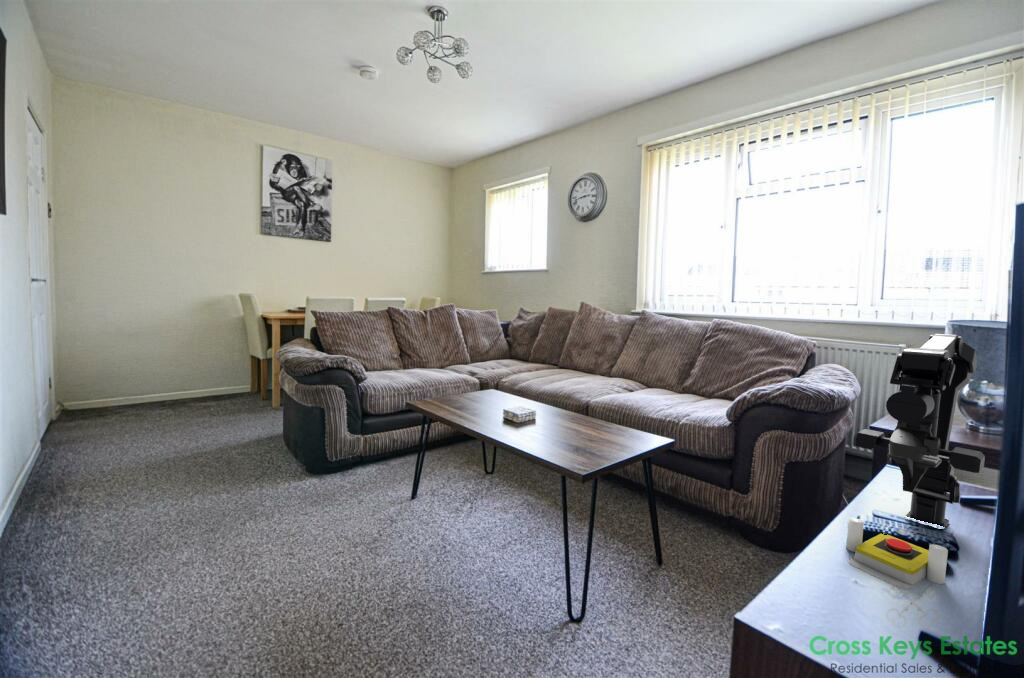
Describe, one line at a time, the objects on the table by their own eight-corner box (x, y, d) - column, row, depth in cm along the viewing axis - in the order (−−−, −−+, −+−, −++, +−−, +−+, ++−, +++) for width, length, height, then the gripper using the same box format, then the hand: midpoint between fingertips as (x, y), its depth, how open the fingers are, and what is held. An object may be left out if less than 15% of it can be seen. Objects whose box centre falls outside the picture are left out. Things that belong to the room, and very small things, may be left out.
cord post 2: (928, 574, 83) (931, 542, 83) (945, 580, 81) (949, 548, 81) (924, 579, 82) (927, 547, 81) (942, 585, 80) (946, 553, 79)
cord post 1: (848, 544, 93) (850, 516, 92) (862, 549, 91) (865, 521, 90) (844, 548, 91) (847, 520, 91) (858, 554, 89) (861, 525, 89)
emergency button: (944, 546, 85) (908, 569, 78) (942, 568, 86) (906, 593, 78) (885, 524, 93) (847, 543, 86) (883, 544, 94) (845, 565, 87)
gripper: (847, 410, 91) (840, 485, 93) (979, 433, 77) (968, 521, 78) (865, 402, 98) (858, 472, 100) (989, 422, 83) (979, 503, 85)
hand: (910, 490), depth 91 cm, fingers closed
